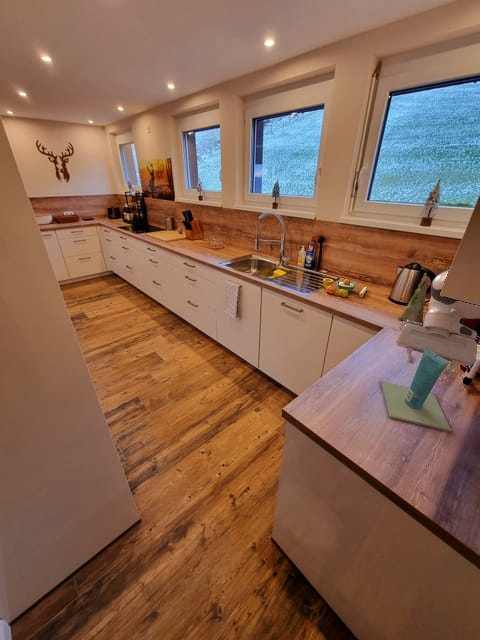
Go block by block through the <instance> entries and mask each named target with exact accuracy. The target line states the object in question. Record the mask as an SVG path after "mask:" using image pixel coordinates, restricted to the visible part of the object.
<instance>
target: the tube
mask: <svg viewBox="0 0 480 640" xmlns="http://www.w3.org/2000/svg"><path fill="white" fill-rule="evenodd" d="M449 364H450V361H448V360H445V359H443V358H442V357H440V356H439V355H437V354H436V353H434V352H433V351H431V350H430V349H428V348H427V347H426V348H425V350H424V353H422V355H421V359H420V361H419V364H418V365H417V369H416V371H415V374H414V376H413V377H412V381H411V382H410V385H409V387H410V388H409V390H408V392H407V395H406V397H405V403H406V404H407V405H408V406H410V407H412V408H415V409H420V408H422V406H423V404H424V402H425V400H426V399H427V397H428V395H429V393H430V392H432V390H433V389H434V386H435V384H436V383H437V381H438V380H439V378H440V376H441V375H442V374H443V371H444V369H445V367H447V366H448V365H449Z"/></svg>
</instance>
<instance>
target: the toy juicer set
mask: <svg viewBox="0 0 480 640" xmlns="http://www.w3.org/2000/svg"><path fill="white" fill-rule="evenodd" d="M322 282H323V284H322V285H323V286H322V287H323V288H324V289H325V292H326V293H329V294H331V295H333V294H335V293H336V292H337V293H338V296H339V297H340V296H341V297H343V298H344V297H345V298H346V297H348V295H349V293H350V292H351V291H354V289H355V288H356V287H357V286H358V285H359V283H358V282H356V281H354V282H353V281H352V280H350V279H348V278H346V279H343V280H338V281H337V282H336V285H337V287H336V286H335V287H334V286H333V282H334V280H333V279H331V278H328V277H327V278H323V280H322ZM337 288H338V291H337ZM367 290H368V287H367V286H365V287H363V288H362V289H361V291H360V292H359V294H358V297H359V298H363V297H364V296H365V293H366V291H367Z"/></svg>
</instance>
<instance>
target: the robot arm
mask: <svg viewBox="0 0 480 640" xmlns="http://www.w3.org/2000/svg"><path fill="white" fill-rule="evenodd" d="M449 269H450V268H448V269H446V270H444V271H441V272H440V273H439V274H438V275H436V276H435V277H434V278H433V280H432V282H431V284H430V294H431V296H430V298H429V301H428V310H427V312H426V314H425V316H424V317H423V321H422V323H419V322H413V321H411V320H407V321H404V320H402V321H400V325H399V334H398V335H397V337H396V339H395V345H396V346H397V347H400V348H403V349H406V351H405V353H406V355H407V363H408V364H411V365H413V364H414V363H415V360H416V359H415V358H416V357H414V356H413V355H412V352H413V351H414V352H418V353H421V354H423V353H424V350H425V348H426V347H427V348H428V349H430V350H431V351H433V352H434V353H436V354H437V355H439V356H440V357H442V358H443V359H445V360H446V361H448V362H449V365H450V366H449V367H447V366H446V367H445V369H444V370H443V372H442V374H444V375H447V376H450V375H451V373H452V371H453V369H455V368H456V367H457V366H458V365H461V366H466V367H468V366H471V365H473V364H475V362H476V361H477V355H478V343H477V341H475V339H476V338H477V336H478V333H477V331H475V330H473V329H472V328H469V327H467V326H465V325H464V324H462V323H460V320H461V319H467V320H480V306H478V305H473V304H469V303H465V302H462V301H457V300H453V299H450V298H446V297H441V296H440V292H441V290H442V287H443V285H444V281H445V279H446V277H447V274H448V271H449Z"/></svg>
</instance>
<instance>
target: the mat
mask: <svg viewBox="0 0 480 640" xmlns="http://www.w3.org/2000/svg"><path fill="white" fill-rule="evenodd" d="M381 387H382V391H383V395H384V399H385V404H386V408H387V412H388V414H389V418H390V419H395V420H399V421H402V422H407V423H412V424H415V425H420V426H422V427H423V426H424V427H427V428H431V429H436V430H440V431H444V432H449V433H451V432H452V429H451V426H450V425H449V422H448V420H447V418H446V416H445V414H444V411H443V410H442V407H441V405H440V403H439V401H438V399H437V397H436V395H435V394H434V391H430V393H429V395H428V397H427V399H426V400H425V402H424V404H423V406H422V408H420V409H415V408H412V407H410V406H408V405H407V404H406V403H405V397H406V395H407V392H408V390H409V388H410V386H405V385H400V384H397V383H396V384H395V383H391V382H386V381H381Z"/></svg>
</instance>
